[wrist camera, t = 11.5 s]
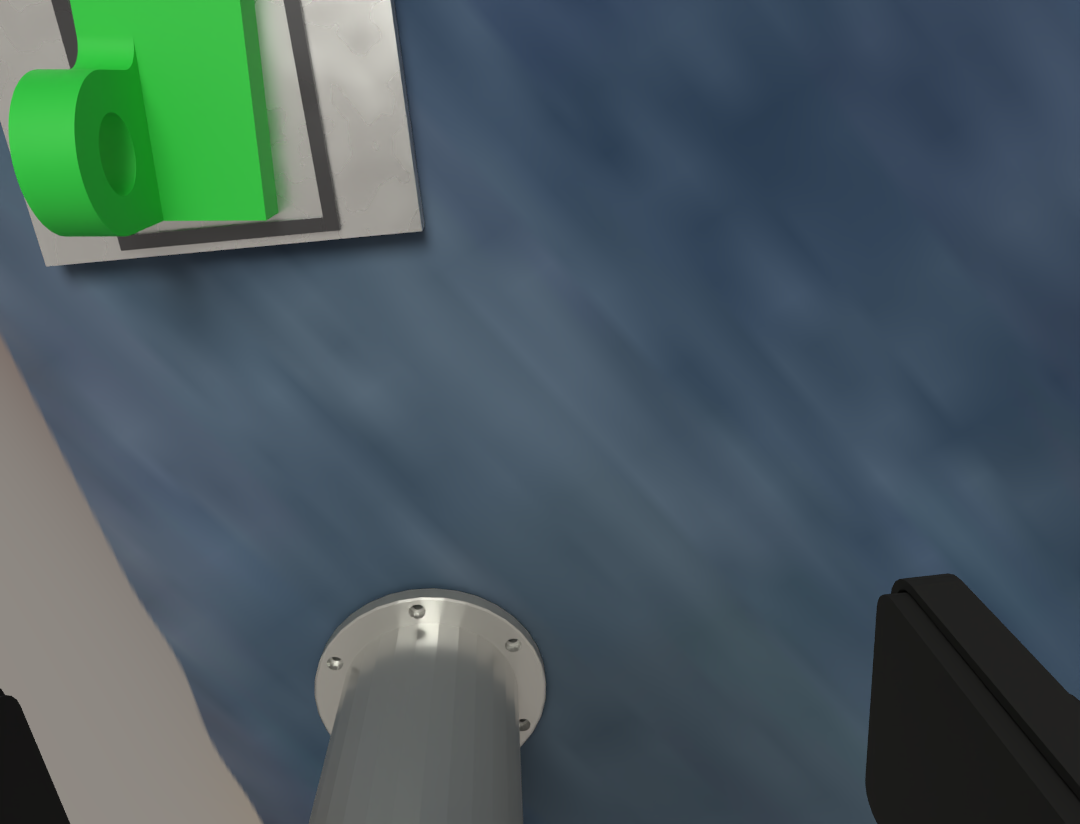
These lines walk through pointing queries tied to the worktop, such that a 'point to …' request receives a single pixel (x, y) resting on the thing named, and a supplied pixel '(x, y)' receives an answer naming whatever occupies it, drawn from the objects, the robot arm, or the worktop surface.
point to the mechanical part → (147, 120)
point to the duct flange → (271, 127)
